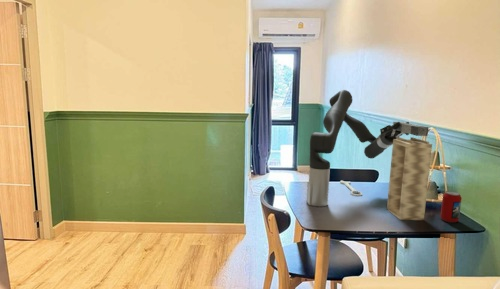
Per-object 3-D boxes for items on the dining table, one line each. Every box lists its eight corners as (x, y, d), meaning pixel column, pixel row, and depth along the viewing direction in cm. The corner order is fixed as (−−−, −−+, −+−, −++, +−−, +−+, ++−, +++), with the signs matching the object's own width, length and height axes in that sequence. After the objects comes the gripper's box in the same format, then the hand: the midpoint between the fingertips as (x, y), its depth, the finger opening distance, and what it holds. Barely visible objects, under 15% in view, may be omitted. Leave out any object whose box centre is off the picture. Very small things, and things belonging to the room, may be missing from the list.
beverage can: (458, 224, 143) (461, 196, 141) (439, 221, 146) (442, 193, 144) (458, 219, 148) (462, 192, 146) (440, 216, 152) (443, 189, 150)
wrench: (348, 183, 206) (338, 183, 206) (349, 180, 205) (338, 179, 205) (363, 197, 178) (351, 196, 178) (363, 193, 178) (352, 192, 178)
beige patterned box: (400, 219, 146) (408, 141, 141) (386, 209, 159) (393, 136, 154) (423, 220, 147) (432, 141, 142) (408, 209, 159) (415, 137, 154)
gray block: (416, 135, 140) (417, 126, 140) (391, 129, 162) (392, 121, 161) (427, 136, 140) (428, 127, 140) (401, 129, 162) (402, 121, 162)
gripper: (372, 130, 172) (387, 115, 156) (400, 131, 173) (418, 116, 157) (374, 145, 169) (389, 131, 153) (402, 145, 170) (421, 132, 154)
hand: (403, 123), depth 155 cm, fingers closed on gray block, 3 cm apart
